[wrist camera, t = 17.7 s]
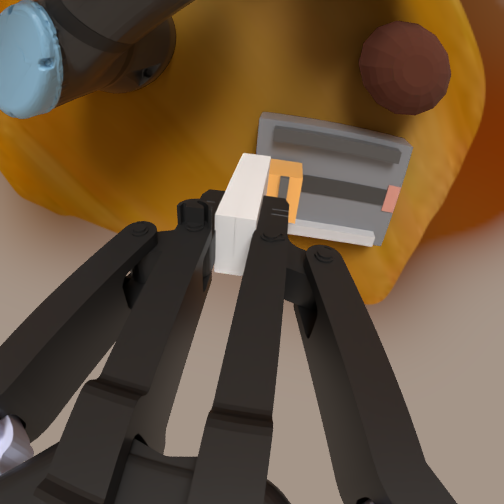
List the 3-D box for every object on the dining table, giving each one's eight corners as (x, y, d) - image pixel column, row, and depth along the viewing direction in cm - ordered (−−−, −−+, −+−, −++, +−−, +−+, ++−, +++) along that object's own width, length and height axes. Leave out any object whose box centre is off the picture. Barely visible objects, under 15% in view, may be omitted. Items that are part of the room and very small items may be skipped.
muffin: (394, 120, 37) (419, 142, 29) (332, 68, 34) (343, 74, 26) (444, 64, 30) (480, 73, 22) (384, 8, 27) (409, -2, 19)
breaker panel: (252, 212, 49) (247, 232, 44) (262, 111, 39) (258, 120, 35) (375, 231, 48) (382, 252, 43) (403, 138, 38) (417, 151, 34)
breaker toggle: (265, 199, 42) (261, 221, 38) (270, 158, 38) (266, 175, 34) (295, 203, 42) (294, 226, 37) (302, 163, 38) (302, 181, 34)
